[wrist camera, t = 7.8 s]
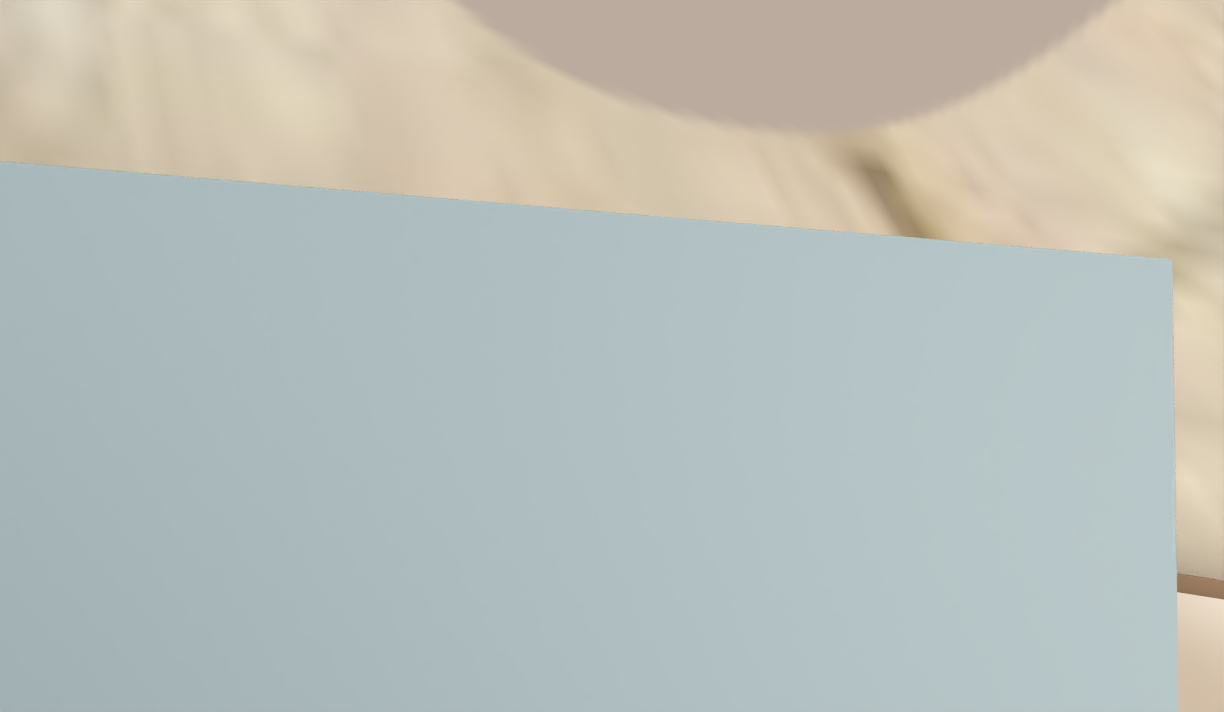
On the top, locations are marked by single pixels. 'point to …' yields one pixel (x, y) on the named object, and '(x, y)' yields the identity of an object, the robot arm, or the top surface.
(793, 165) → the top surface
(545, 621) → the block
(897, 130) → the top surface
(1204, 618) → the board
